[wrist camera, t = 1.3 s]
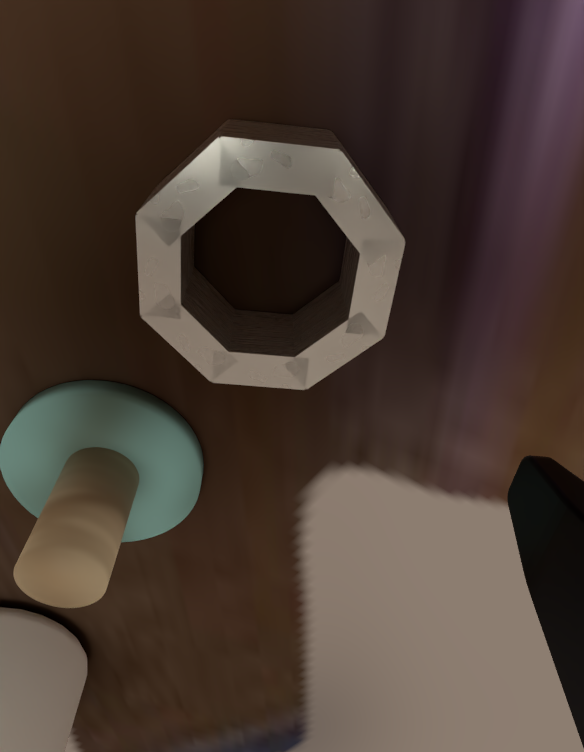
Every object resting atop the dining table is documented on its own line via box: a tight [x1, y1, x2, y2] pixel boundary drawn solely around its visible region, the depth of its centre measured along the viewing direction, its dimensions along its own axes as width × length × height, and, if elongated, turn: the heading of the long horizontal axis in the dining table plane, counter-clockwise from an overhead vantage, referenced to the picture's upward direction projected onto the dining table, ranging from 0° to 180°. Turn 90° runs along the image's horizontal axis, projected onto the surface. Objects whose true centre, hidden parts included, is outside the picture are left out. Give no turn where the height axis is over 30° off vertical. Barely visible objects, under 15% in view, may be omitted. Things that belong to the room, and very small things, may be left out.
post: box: [0, 380, 204, 608], centre depth 21 cm, size 8×8×6 cm
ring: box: [135, 119, 405, 390], centre depth 17 cm, size 7×7×3 cm
